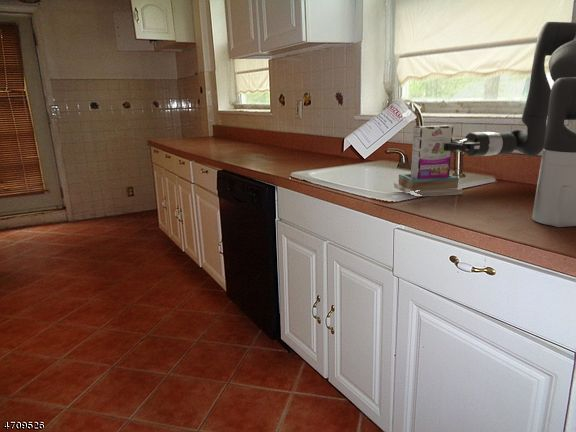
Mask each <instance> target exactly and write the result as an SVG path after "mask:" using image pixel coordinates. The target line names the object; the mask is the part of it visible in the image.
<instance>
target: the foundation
mask: <svg viewBox="0 0 576 432" xmlns="http://www.w3.org/2000/svg"><path fill="white" fill-rule="evenodd" d="M459 180H460V178H459V177H458V176H455V175H452V174H449V177H446V178H425V179H413V178H411V173H399V175H398V182H394V185H393V188H394V189H396V190H399V191H401V192H403V193H405V192H410V191H414V192H415V191H416V190H420V191H418V192H415V193H417V194H420V195H422V197H436V196H451V195H452V196H453V195H456V196H457V195H463V192H464V190H463V188H459Z"/></svg>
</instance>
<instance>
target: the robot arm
mask: <svg viewBox="0 0 576 432" xmlns="http://www.w3.org/2000/svg"><path fill="white" fill-rule="evenodd" d="M536 39H537V40H536V43H535V49H534V52H533V53H534V55H533V60H532V66H531V73H530V79H529V80H530V81H529V88H528V93H527V98H526V102H525V104H524V108H523V112H522V115H521V122H522V123H523V124H524V125H525V126H526V129H521V128H519V129H513V130H510V131H506V132H505V131H503V132H502V131H501V132H494V131H493V132H492V131H475V132H473V131H471V132H469V133H467V134H466V136H465V137H464V138H463V137H458V138H457V137H456V138H453V137H452V143H445V144H444V150H445V151H451V152H453V151H455V152H458V153H459V152H460V153H465V155H466V156H469V157H484V156H485V157H487V156H495V155H509V154H511V153H513V152H514V151H518V152H520V153H522V154H524V155H526V156H529V157H535V156H537V155H539V154H540V153H541V152H542V154H541V159H540V160H541V161H540V166H539V172H538V179H537V184H536V191H535V197H534V202H533V209H532V216H531V220H533V221H534V222H536V223H539V224H543V225H547V226H553V227H556V228H564V227H565V228H566V227H567V228H568V227H576V132H574V131H572V130H570V129H569V128H568V127H566V125H565V120H566V121H576V22H572V21H570V22H569V21H567V22H566V21H547V22H545V23H544V24H543V25H542V26H541V27H540V29H539V32H538V35H537V38H536ZM547 56H550V58H549V60H548V71H549V75H550V77H551V79H552V81H553V84H552V86H550V83H549V80H548V78H547V73H546V70H545V62H546V58H547Z"/></svg>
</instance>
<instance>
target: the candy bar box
mask: <svg viewBox="0 0 576 432" xmlns="http://www.w3.org/2000/svg"><path fill="white" fill-rule="evenodd" d="M453 133H454V125H449V124H448V125H447V124H442V125H440V124H439V125H438V124H437V125H418V126H413V133H412V150H411V163H410V164H411V165H410V166H411V167H410V168H411V169H410V174H411V178H413V179H425V178H446V177H449V175H450V169H451V158H452V151H445V150H444V144H445V143H452V138H453V136H454V135H453Z"/></svg>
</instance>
